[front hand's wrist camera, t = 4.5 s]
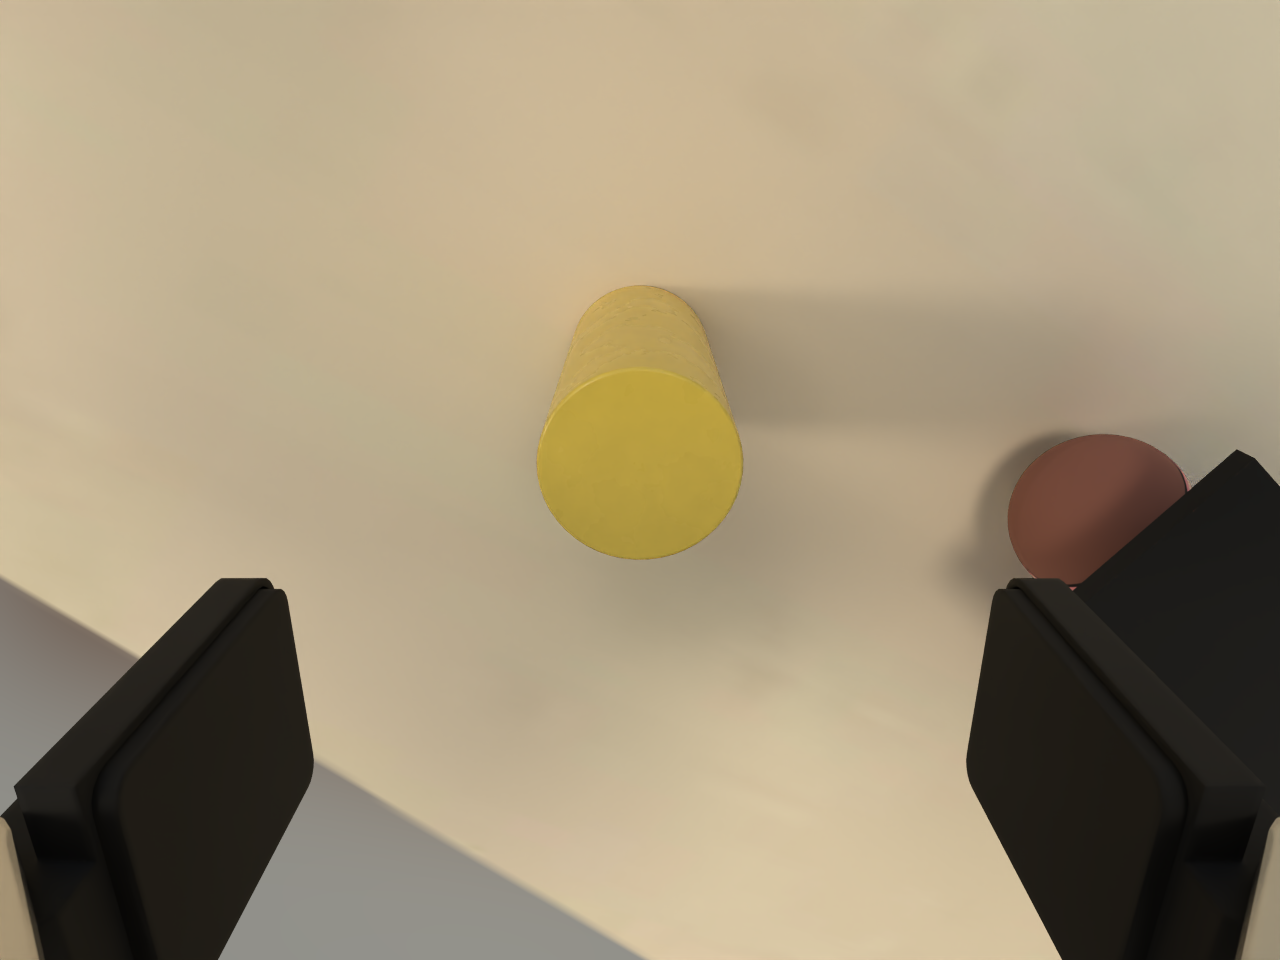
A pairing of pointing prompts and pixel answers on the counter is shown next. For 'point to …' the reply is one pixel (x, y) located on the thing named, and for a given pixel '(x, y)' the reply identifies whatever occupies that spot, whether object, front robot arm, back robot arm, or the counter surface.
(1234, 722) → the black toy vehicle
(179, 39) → the counter surface
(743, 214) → the counter surface
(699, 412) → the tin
